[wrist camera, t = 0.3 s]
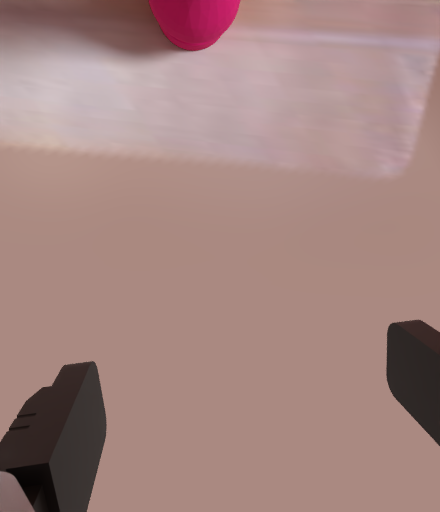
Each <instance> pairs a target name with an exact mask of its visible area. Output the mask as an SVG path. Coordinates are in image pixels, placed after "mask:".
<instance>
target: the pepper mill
mask: <svg viewBox="0 0 440 512" xmlns="http://www.w3.org/2000/svg"><path fill="white" fill-rule="evenodd" d="M149 4H150V7H151V10H152V12H153V14H154V16H155V18H156V20H157V21H158V23H159V25H160V28H161V30H162V31H163V33H164V34H165V36H166V37H167V38H168V39H169V40H170V41H171V42H172V43H173V44H175V45H176V46H178V47H180V48H183V49H186V50H193V51H196V50H202V49H205V48H207V47H209V46H211V45H213V44H214V43H215V42H216V41H217V40H218V39H219V38H220V36H221V35H222V34H223V33H224V32H225V31H226V30H227V29H228V28H229V26H230V25H231V24H232V22H233V20H234V19H235V16H236V14H237V11H238V8H239V4H240V0H149Z"/></svg>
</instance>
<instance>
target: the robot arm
mask: <svg viewBox="0 0 440 512" xmlns="http://www.w3.org/2000/svg"><path fill="white" fill-rule="evenodd" d="M387 381H388V385H389V388H390V390H391V392H392V394H393V396H394V397H395V398H396V399H397V401H398V402H400V404H401V405H402V406H403V407H404V408H405V409H406V410H407V411H408V412H409V413H410V414H411V416H412V417H413V418H414V419H415V420H416V421H417V422H418V423H419V424H420V425H421V426H422V427H423V428H424V430H425V431H426V432H427V433H428V434H429V435H430V436H431V437H432V438H433V439H434V440H435V441H436V442H437V444H438V445H439V446H440V332H438V331H437V330H435V329H434V328H432V327H431V326H429V325H428V324H426V323H424V322H423V321H421V320H412V321H405V322H397V323H392V324H390V326H389V328H388V332H387ZM105 437H106V414H105V408H104V403H103V397H102V391H101V386H100V381H99V375H98V370H97V366H96V364H95V362H93V361H92V362H84V363H76V364H69V365H64V366H63V367H62V369H61V370H60V372H59V374H58V376H57V377H56V379H55V381H54V383H53V385H52V386H50V387H43V388H41V389H40V390H39V391H38V392H37V393H35V394H34V395H33V396H32V397H30V398H29V399H28V400H27V401H26V402H25V404H24V405H23V407H22V409H21V410H20V412H19V413H18V415H17V419H15V420H14V421H13V423H12V424H11V426H10V428H9V431H8V432H6V434H5V436H4V437H3V439H2V440H1V442H0V512H87V508H88V504H89V500H90V497H91V493H92V489H93V485H94V481H95V477H96V473H97V469H98V465H99V461H100V458H101V454H102V450H103V446H104V442H105Z"/></svg>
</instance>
